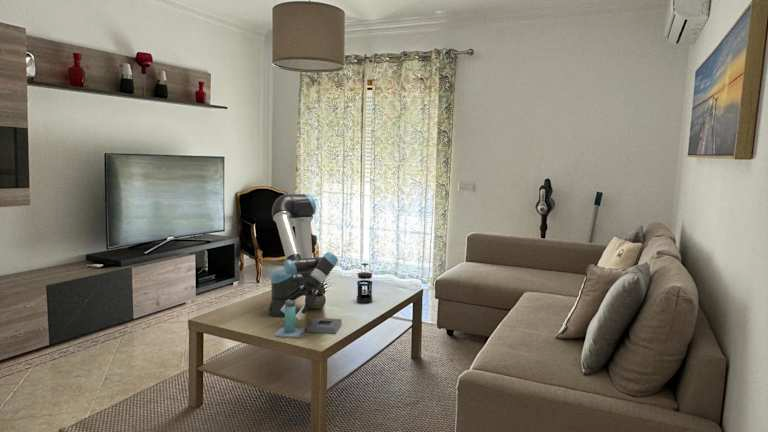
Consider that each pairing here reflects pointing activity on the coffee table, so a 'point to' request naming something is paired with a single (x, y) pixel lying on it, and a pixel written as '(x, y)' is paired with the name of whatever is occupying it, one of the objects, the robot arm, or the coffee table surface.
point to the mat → (282, 333)
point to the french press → (364, 295)
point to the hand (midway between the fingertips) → (289, 315)
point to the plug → (289, 316)
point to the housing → (324, 325)
